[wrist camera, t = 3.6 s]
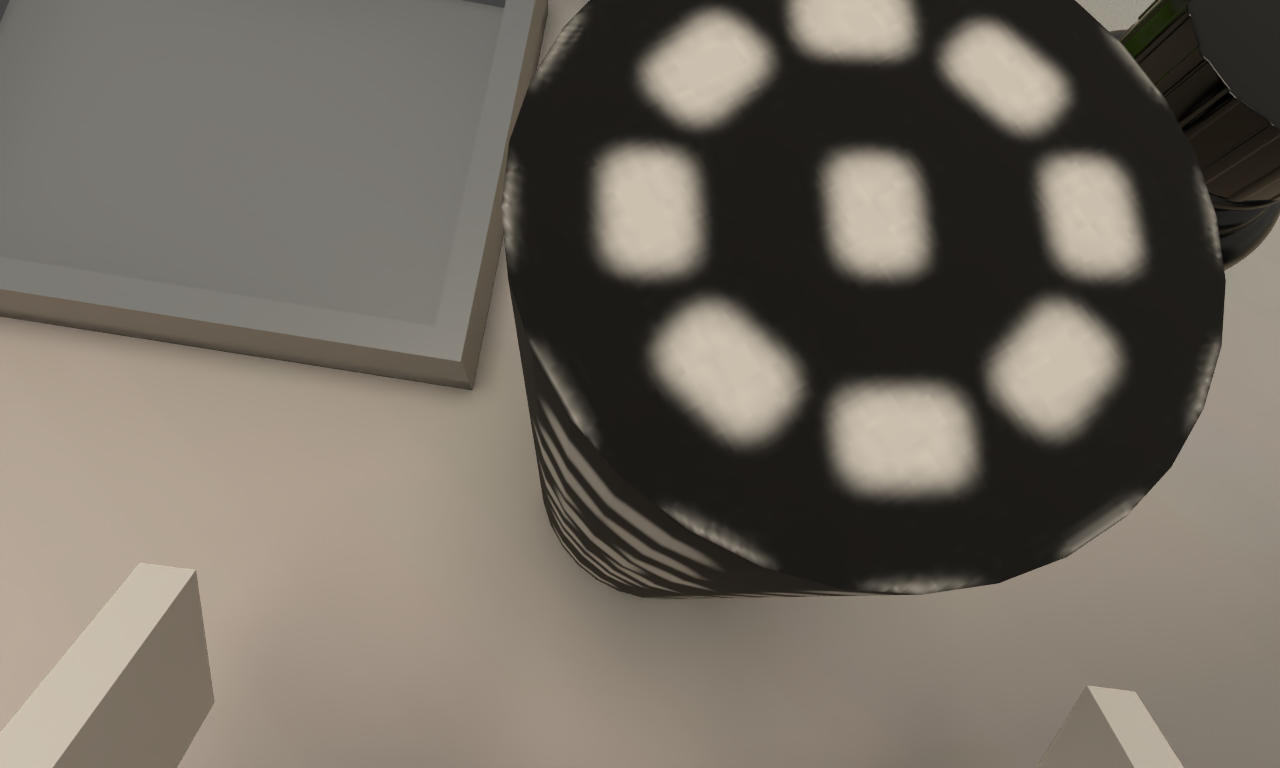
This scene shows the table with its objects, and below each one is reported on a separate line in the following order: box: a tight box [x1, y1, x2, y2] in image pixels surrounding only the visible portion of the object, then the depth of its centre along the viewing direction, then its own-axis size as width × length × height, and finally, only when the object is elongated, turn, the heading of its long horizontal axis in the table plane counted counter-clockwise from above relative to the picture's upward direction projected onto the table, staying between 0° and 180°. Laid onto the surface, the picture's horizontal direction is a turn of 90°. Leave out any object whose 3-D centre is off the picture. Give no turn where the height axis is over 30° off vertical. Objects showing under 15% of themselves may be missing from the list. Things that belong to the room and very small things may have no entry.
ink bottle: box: [1110, 0, 1280, 271], centre depth 27 cm, size 10×9×12 cm
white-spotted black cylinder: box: [501, 0, 1226, 599], centre depth 19 cm, size 8×8×20 cm
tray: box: [0, 0, 548, 390], centre depth 28 cm, size 20×16×4 cm
